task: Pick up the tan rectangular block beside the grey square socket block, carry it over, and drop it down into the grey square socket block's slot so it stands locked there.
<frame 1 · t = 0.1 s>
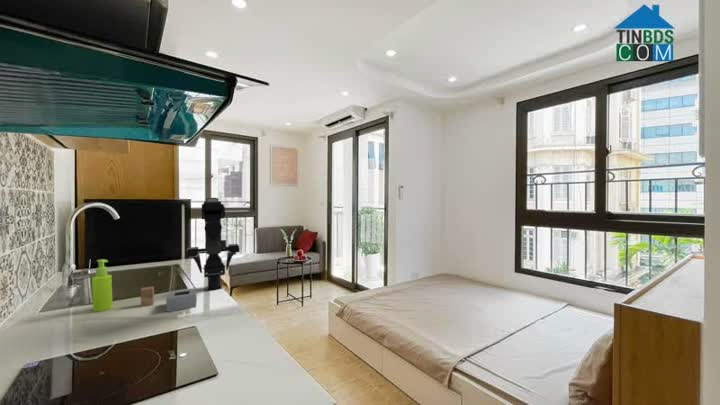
hand: (214, 271, 117), 15 cm above the worktop, tool pointing down, fingers open, 9 cm apart
tan rectangular block: (147, 304, 121), on the worktop
grey square socket block: (182, 305, 120), on the worktop
soap dispenser: (103, 309, 117), on the worktop
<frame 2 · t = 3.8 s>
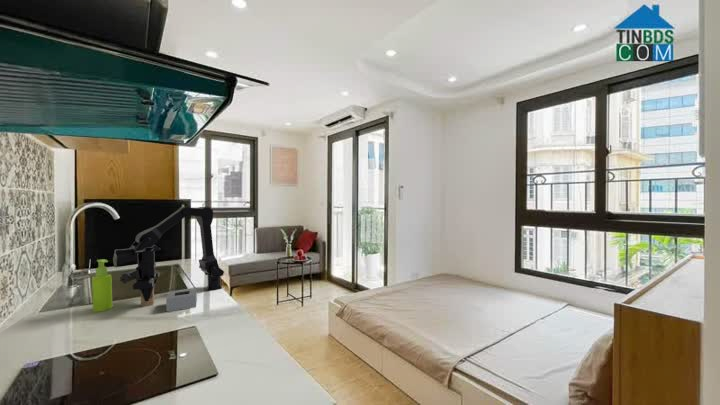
hand: (147, 299, 121), 2 cm above the worktop, tool pointing down, fingers closed on tan rectangular block, 3 cm apart
tan rectangular block: (147, 304, 121), on the worktop, touching gripper
everything else where it was.
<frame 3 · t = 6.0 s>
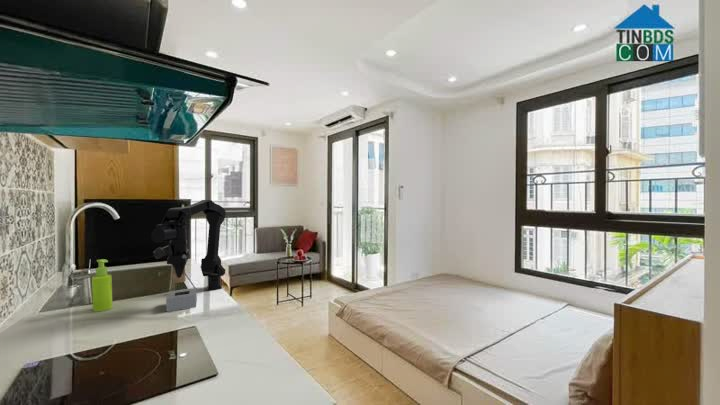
hand: (179, 276, 120), 12 cm above the worktop, tool pointing down, fingers closed on tan rectangular block, 3 cm apart
tan rectangular block: (179, 281, 120), point 10 cm above the worktop, touching gripper
everything else where it was.
when the fingers open (6 cm above the worktop, at t = 8.1 s): tan rectangular block drops 4 cm, resting in grey square socket block.
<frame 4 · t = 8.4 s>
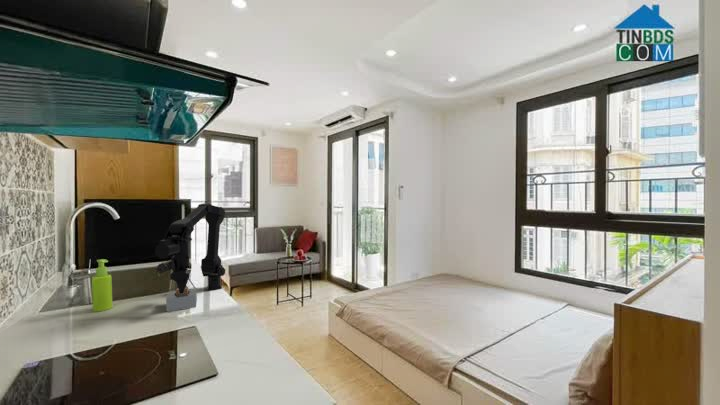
hand: (182, 290, 120), 6 cm above the worktop, tool pointing down, fingers open, 6 cm apart
tan rectangular block: (182, 305, 120), resting in grey square socket block
everything else where it was.
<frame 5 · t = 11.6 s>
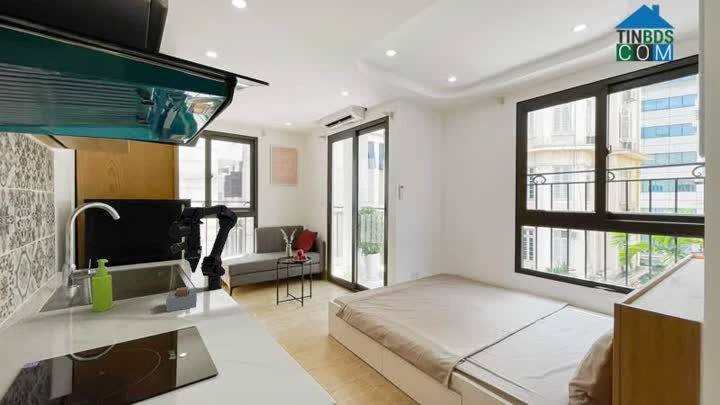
hand: (194, 270, 130), 12 cm above the worktop, tool pointing down, fingers open, 9 cm apart
nothing on the worktop moved.
at the end: tan rectangular block 0.0 cm off-centre on the grey square socket block, point 0.0 cm above the grey square socket block's base; tan rectangular block tilted 0°; the gripper is holding nothing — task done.
